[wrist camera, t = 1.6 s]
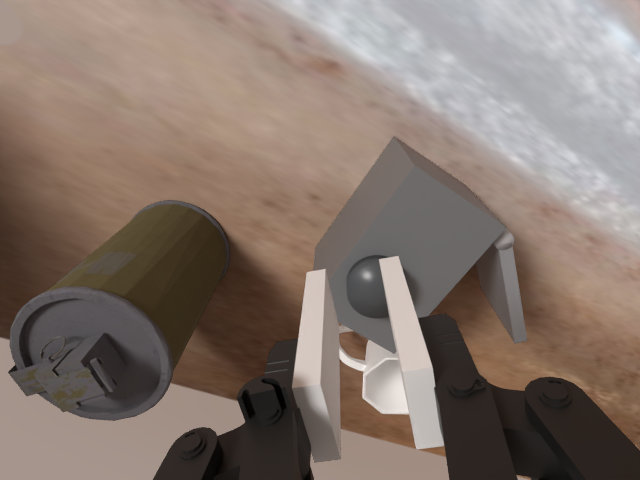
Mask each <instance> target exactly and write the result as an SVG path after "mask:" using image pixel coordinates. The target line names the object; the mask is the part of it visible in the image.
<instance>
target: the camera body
mask: <svg viewBox="0 0 640 480" xmlns="http://www.w3.org/2000/svg"><path fill="white" fill-rule="evenodd" d="M505 229H506V227H505V226H504V225H503V224H502V222H501V221H500V220H499V219H498V218H497V217H496V216H495V215H494V214H493V213H492V212H491V211H490V210H489V209H488V208H487V207H486V206H485V205H484V204H483V203H482V202H481V201H480V200H479V199H478V198H477V197H476V196H475V195H474V194H473V193H472V192H471V191H470V190H469V189H468V188H467V187H466V185H465V184H463V183H462V182H460V181H459V180H458V179H456V178H455V177H453V176H452V175H450V174H449V173H447V172H446V171H444V170H443V169H441V168H440V167H438V166H437V165H436V164H434V163H433V162H431V161H430V160H428V159H427V158H425V157H424V156H422V155H421V154H419V153H418V152H416V151H415V150H414V149H412V148H411V147H409V146H408V145H406V144H405V143H403V142H402V141H400V140H399V139H397V138H396V137H395V136H394V137H393V138H392V140H391V141H390V142H389V144H388V145H387V147H386V148H385V150H384V151H383V152H382V154H381V155H380V157H379V158H378V159H377V161H376V162H375V164H374V165H373V167H372V168H371V169H370V171H369V172H368V174H367V175H366V176H365V178H364V179H363V181H362V182H361V184H360V185H359V186H358V188H357V189H356V191H355V192H354V193H353V195H352V196H351V198H350V199H349V201H348V202H347V203H346V205H345V206H344V208H343V209H342V210H341V212H340V213H339V215H338V216H337V218H336V219H335V220H334V222H333V223H332V225H331V226H330V227H329V229H328V230H327V232H326V233H325V235H324V236H323V237H322V239H321V240H320V242H319V243H318V244H317V246H316V248H315V258H314V268H313V271H317V270H322V269H326V273H327V277H328V281H329V286H330V290H331V294H332V298H333V302H334V307H335V311H336V315H337V319H338V322H339V323H340V324H342V325H344V326H346V327H347V328H349V329H351V330H353V331H355V332H356V333H358V334H360V335H362V336H363V337H365V338H367V339H369V340H370V341H372V342H374V343H376V344H377V345H379V346H381V347H383V348H384V349H386V350H388V351H390V352H392V353H393V354H395V353H396V347H395V342H394V337H393V332H392V327H391V322H390V317H389V312H388V306H387V301H386V295H385V290H384V284H383V279H382V273H381V268H380V262H379V259H384V258H389V257H395V256H398V257H399V260H400V263H401V266H402V270H403V273H404V276H405V279H406V283H407V286H408V289H409V292H410V296H411V299H412V302H413V305H414V309H415V312H416V315H417V318H420V317H427V316H429V314H430V313H431V312H432V311H433V310H434V309H435V308H436V307H437V305H438V304H439V303H440V302H441V301H442V300H443V299H444V298H445V296H446V295H447V294H448V293H449V292H450V291H451V290H452V289H453V287H454V286H455V285H456V284H457V283H458V282H459V281H460V279H461V278H462V277H463V276H464V275H465V274H466V273H467V272H468V270H469V269H470V268H471V267H472V266H473V265H474V264H475V263H476V261H477V260H478V259H479V258H480V257H481V256H482V255H483V254H484V252H485V251H486V250H487V249H488V248H489V247H490V246H491V244H492V243H493V242H494V241H495V240H496V239H497V238H498V237H499V235H500V234H501V233H502V232H503V231H504V230H505Z"/></svg>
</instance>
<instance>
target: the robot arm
mask: <svg viewBox="0 0 640 480" xmlns="http://www.w3.org/2000/svg"><path fill="white" fill-rule="evenodd" d="M379 262H380V268H381V273H382V279H383V284H384V290H385V295H386V301H387V306H388V312H389V317H390V322H391V327H392V332H393V337H394V342H395V347H396V352H397V356H398V361H399V366H400V371H401V376H402V381H403V386H404V391H405V396H406V401H407V406H408V411H409V415H410V420H411V425H412V430H413V435H414V440H415V445H416V449H424V448H431V447H439V446H444V445H445V451H446V458H447V465H448V473H449V480H518V479H517V476H516V475H522V476H528V477H531V480H640V450H639V449H638V448H637V447H636V446H635V445H634V444H633V443H632V442H631V441H630V440H629V439H628V438H627V437H626V436H625V435H624V434H623V433H622V431H621V430H620V429H619V428H618V427H617V426H616V425H615V424H614V423H613V422H612V421H611V420H610V419H609V418H608V417H607V416H606V415H605V414H604V412H603V411H602V410H601V409H600V408H599V407H598V406H597V405H596V404H595V403H594V402H593V401H592V400H591V399H590V398H589V397H588V396H587V395H586V394H585V392H584V391H583V390H582V389H580V388H579V387H578V386H576V385H575V384H574V383H572V382H569V381H567V380H564V379H561V378H555V377H544V378H538V379H536V380H533V381H531V382H530V383H529V384H528V385H527V386H526V388H525V391H518V390H509V389H503V388H499V387H496V386H494V385H492V384H490V383H488V382H487V380H486V379H485V378H484V377H482V376H481V375H480V374H479V373H478V371H477V368H476V366H475V364H474V362H473V359H472V357H471V355H470V353H469V350H468V348H467V346H466V344H465V342H464V339H463V337H462V335H461V333H460V330H459V328H458V326H457V323H456V321H454V320H453V319H452V318H451V317H449V316H448V315H447V314H439V315H433V316H427V317H420V318H417V315H416V312H415V309H414V305H413V302H412V299H411V296H410V292H409V289H408V286H407V283H406V279H405V276H404V273H403V270H402V266H401V263H400V260H399V257H398V256H395V257H389V258H384V259H379ZM237 400H238V403H239V405H240V408H241V411H242V413H243V416H244V419H245V423H244V424H243V425H241V426H240V427H238V428H236V429H234V430H232V431H229V432H227V433H225V434H222V435H219V436H217V435H216V432H214V431H213V430H212V429H210V428H205V427H202V428H196V429H193V430H191V431H189V432H187V433H185V434H183V435H182V436H181V437H180V438H178V439H177V440H176V441H175V442H174V444H173V445H172V446H171V448H170V449H169V451H168V453H167V455H166V457H165V459H164V460H163V462H162V464H161V466H160V467H159V469H158V471H157V473H156V475H155V477H154V478H153V480H314V477H313V474H312V471H311V467H310V455H311V453H312V456H313V459H314V462H322V461H331V460H338V459H341V444H340V443H341V442H340V441H341V440H340V361H339V324H338V319H337V315H336V311H335V307H334V302H333V298H332V294H331V290H330V286H329V281H328V277H327V273H326V269H322V270H317V271H311V272H307V275H306V283H305V291H304V299H303V306H302V314H301V322H300V329H299V337H298V339H291V340H285V341H279V342H277V343H276V344H275V345H274V347H273V348H272V349H271V351H270V352H269V356H268V361H267V365H266V370H265V374H264V376H260V377H257V378H255V379H252V380H251V381H249V382H248V383H246V384H245V385H244V386H243V387H242V388H241V390H240V391H239V393H238V396H237ZM443 441H444V442H443Z"/></svg>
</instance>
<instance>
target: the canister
mask: <svg viewBox="0 0 640 480" xmlns="http://www.w3.org/2000/svg"><path fill="white" fill-rule="evenodd" d="M229 260H230V254H229V244H228V242H227V239H226V236H225V234H224V232H223V231H222V229H221V227H220V226H219V224H218V222H217V221H216V220H215V219H214V218H212V217H211V216H210V215H209V214H208V213H207V212H205V211H204V210H203V209H201V208H199V207H197V206H194V205H192V204H189V203H185V202H182V201H173V200H167V201H160V202H157V203H154V204H151V205H148V206H146V207H145V208H143V209H142V210H140V211H139V212H138V213H137V214H136V215H135V216H134V218H133V219H132V220H131V222H129V223H128V224H127V225H126V226H125V227H123V228H122V229H121V230H120V231H119V232H117V233H116V234H115V235H114V236H113V237H111V238H110V239H109V240H108V241H106V242H105V243H104V244H103V245H102V246H100V247H99V248H98V249H97V250H96V251H94V252H93V253H92V254H91V255H90V256H88V257H87V258H86V259H85V260H84V261H82V262H81V263H80V264H79V265H77V266H76V267H75V268H74V269H73V270H71V271H70V272H69V273H68V274H67V275H65V276H64V277H63V278H62V279H61V280H59V281H58V282H57V283H56V284H55V285H53V286H52V287H51V288H50V289H49V290H47V291H46V292H43V293H42V294H40V295H38V296H36V297H34V298H33V299H31V300H30V301H29V302H28V303H26V304H25V305H24V306H23V307H22V308H21V309H20V311H19V312H18V313H17V315H16V317H15V320H14V322H13V324H12V326H11V331H10V348H11V353H12V357H13V359H14V362H15V364H16V365H15V366H14V367H13V368H12V369H11V370H10V371H9V372H8V373H9V374H10V375H11V377H12V378H13V379H14V381H15V382H16V383H17V384H18V386H19V387H20V388H21V390H22V391H23V392H24V393H25V395H26V396H29V395H33V394H36V393H37V394H39V395H40V396H42V397H43V398H44V399H46V400H47V401H49V402H51V403H52V404H53V405H55V406H57V407H58V408H60V409H61V411H62V412H65V411H68V412H70V413H73V414H75V415H78V416H80V417H84V418H89V419H99V420H113V421H115V420H119V419H124V418H129V417H134V416H137V415H139V414H141V413H143V412H145V411H147V410H148V409H150V408H152V407H153V406H155V405H156V404H157V403H158V402H159V401H160V399H162V397H163V396H164V394H165V393H166V391H167V389H168V387H169V385H170V382H171V379H172V375H173V370H174V368H175V367H176V365H177V363H178V361H179V359H180V357H181V355H182V353H183V351H184V349H185V347H186V345H187V343H188V341H189V339H190V337H191V335H192V333H193V331H194V329H195V327H196V325H197V323H198V321H199V319H200V317H201V315H202V313H203V311H204V310H205V308H206V306H207V304H208V302H209V300H210V298H211V296H212V294H213V292H214V290H215V288H216V286H217V284H218V283H219V282H220V280H221V279H222V278H223V276H224V275H225V273H226V271H227V268H228V264H229Z"/></svg>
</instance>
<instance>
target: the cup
mask: <svg viewBox="0 0 640 480" xmlns="http://www.w3.org/2000/svg"><path fill="white" fill-rule="evenodd" d="M349 331H353V330H351V329H349V328H347V327H346V326H344V325H342V326H339V334H340V333H343V332H349ZM339 358H340V359H341V361H342V362H343V363H345V364H346V365H348V366H350V367H352V368H354V369H357V370H360V371H364V373H363V394H362V398H363V399H365V400H366V401H367V402H368V403H369V404H371V405H372V406H373V407H374V408H376V409H377V410H378V411H379V412H380V413H382V414H409V411H408V406H407V401H406V396H405V391H404V386H403V381H402V376H401V371H400V366H399V361H398V356H397V352H396V353H395V354H393V353H392V352H390V351H388V350H386V349H384V348H383V347H381V346H379V345H377V344H376V343H374V342H372V341H370V340H368V343H367V348H366V357H365V361H363V360H359V359H355V358H352V357H350V356H349V355H348V354H347V353H346V352H345V351H344V350H343V349H342V348H341V346H340V343H339Z"/></svg>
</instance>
